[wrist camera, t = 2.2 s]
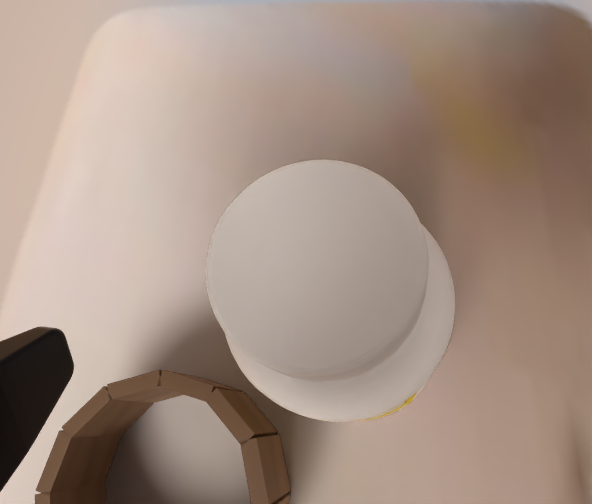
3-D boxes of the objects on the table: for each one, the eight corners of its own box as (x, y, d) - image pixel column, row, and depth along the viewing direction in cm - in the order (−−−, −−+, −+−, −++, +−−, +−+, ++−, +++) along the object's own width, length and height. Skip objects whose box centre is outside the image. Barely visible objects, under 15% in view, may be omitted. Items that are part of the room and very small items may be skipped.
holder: (171, 663, 15) (122, 717, 13) (58, 478, 18) (-4, 490, 15) (331, 494, 16) (318, 510, 13) (200, 340, 19) (165, 326, 16)
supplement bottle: (349, 242, 19) (306, 76, 10) (467, 334, 17) (552, 235, 8) (254, 348, 18) (111, 277, 9) (366, 456, 16) (328, 505, 7)
